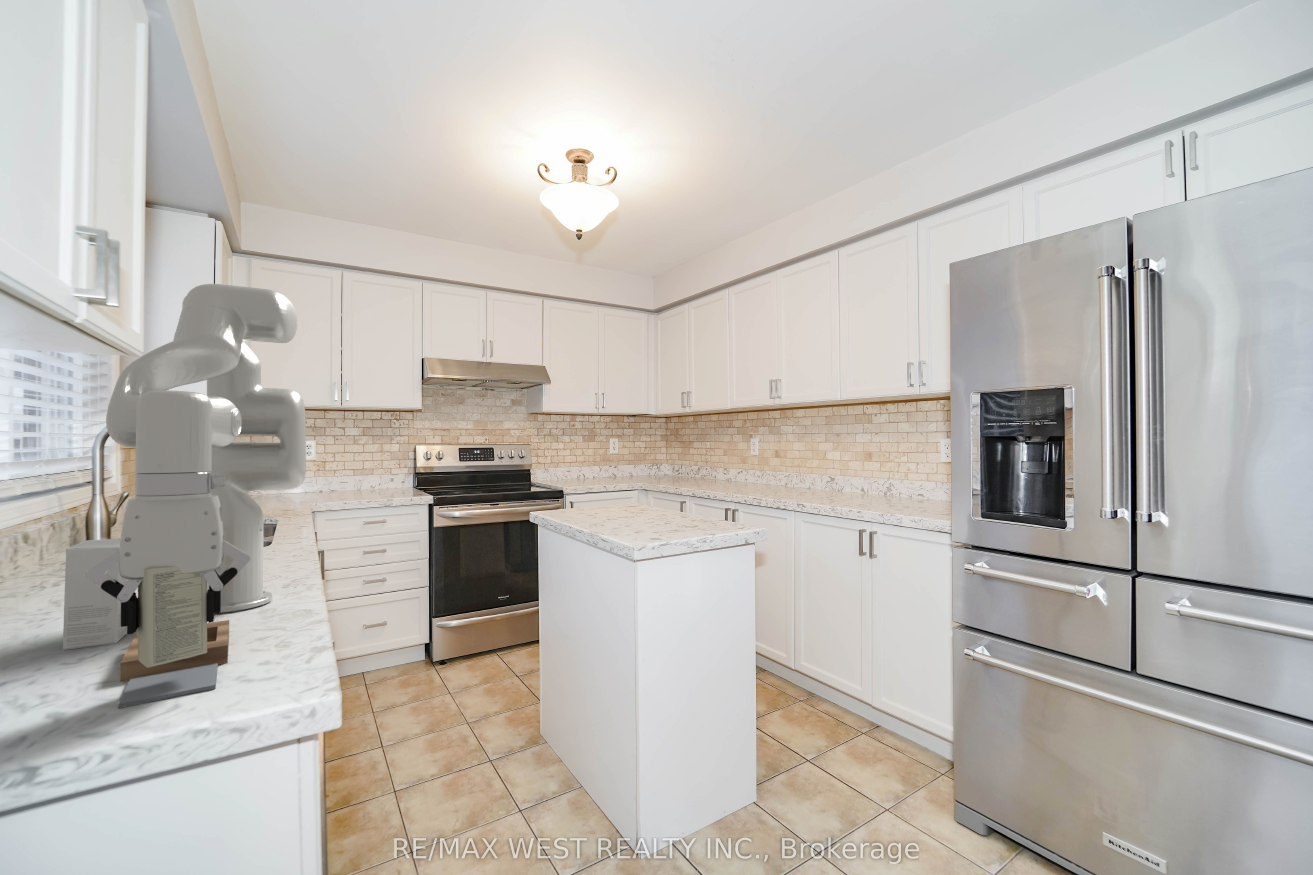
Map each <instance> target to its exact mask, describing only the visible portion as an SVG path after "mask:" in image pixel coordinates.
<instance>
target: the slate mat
mask: <svg viewBox="0 0 1313 875" xmlns="http://www.w3.org/2000/svg"><path fill="white" fill-rule="evenodd" d="M218 665H219V664H218V663H216V664H211V665H205V666H199V667H194V668H188V669H183V670H177V671H172V672H166V673H161V674H155V675H150V676H144V677H138V678H133V679H130V680H129V681H128V683H127V685H126V687H125V689H124V691H123V693H122V696H121V698H120V699H119V702H118V704H117V706H118V709H122V708H126V707H130V706H135V705H141V704H146V703H151V702H156V701H161V700H165V699H166V700H167V699H171V698H177V697H181V696H186V695H190V694H195V693H201V692H206V691H210V690H215V689H216V686H217V676H218V669H219V668H218V667H219V666H218Z"/></svg>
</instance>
